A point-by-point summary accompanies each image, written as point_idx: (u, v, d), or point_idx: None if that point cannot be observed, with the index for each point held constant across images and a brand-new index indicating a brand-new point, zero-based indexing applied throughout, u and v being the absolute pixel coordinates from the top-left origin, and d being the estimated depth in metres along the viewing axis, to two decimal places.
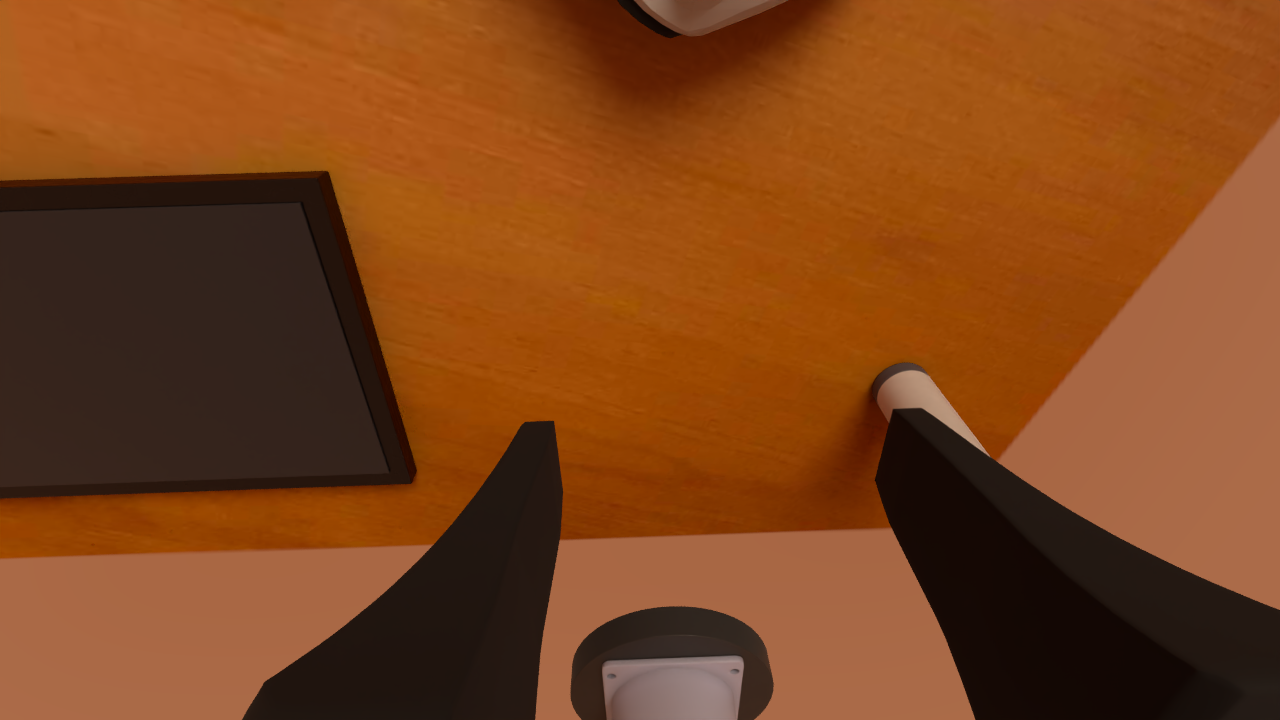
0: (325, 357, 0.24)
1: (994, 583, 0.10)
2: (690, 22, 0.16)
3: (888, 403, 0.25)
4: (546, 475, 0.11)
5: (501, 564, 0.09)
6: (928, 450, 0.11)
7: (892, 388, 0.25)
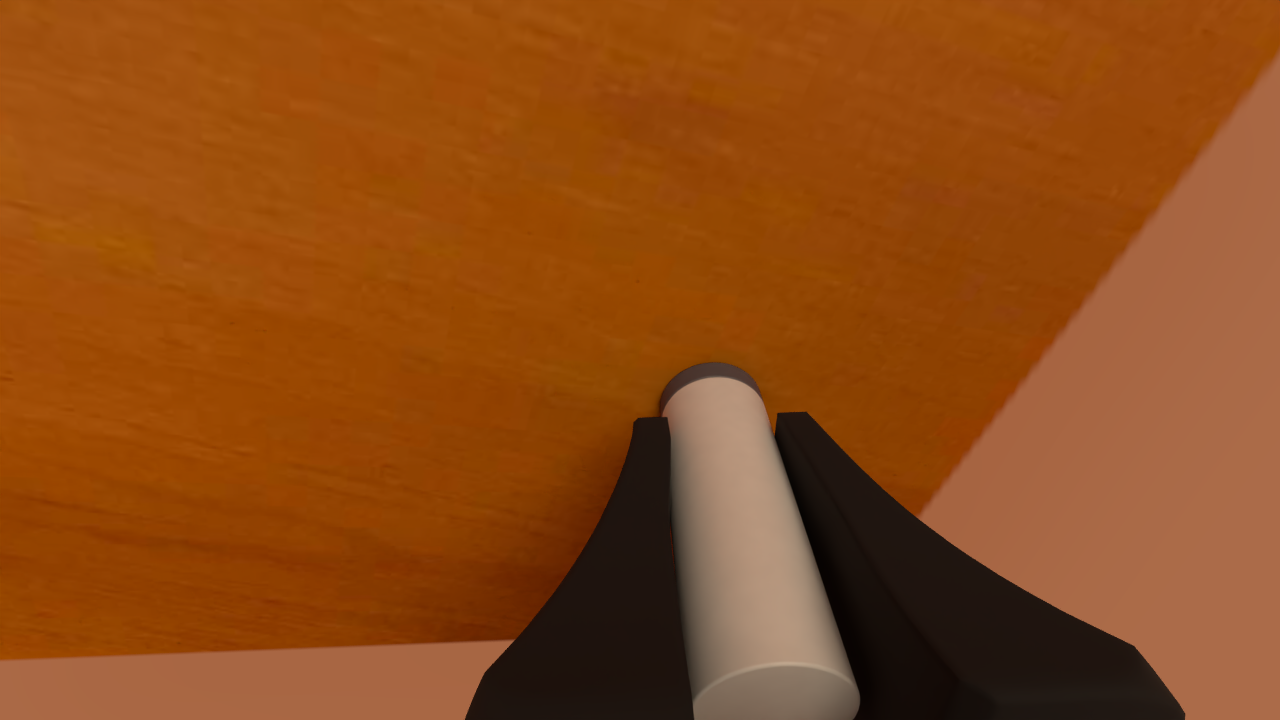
0: None
1: (842, 589, 0.09)
2: None
3: None
4: (670, 471, 0.11)
5: (668, 558, 0.09)
6: (799, 454, 0.11)
7: (674, 413, 0.13)
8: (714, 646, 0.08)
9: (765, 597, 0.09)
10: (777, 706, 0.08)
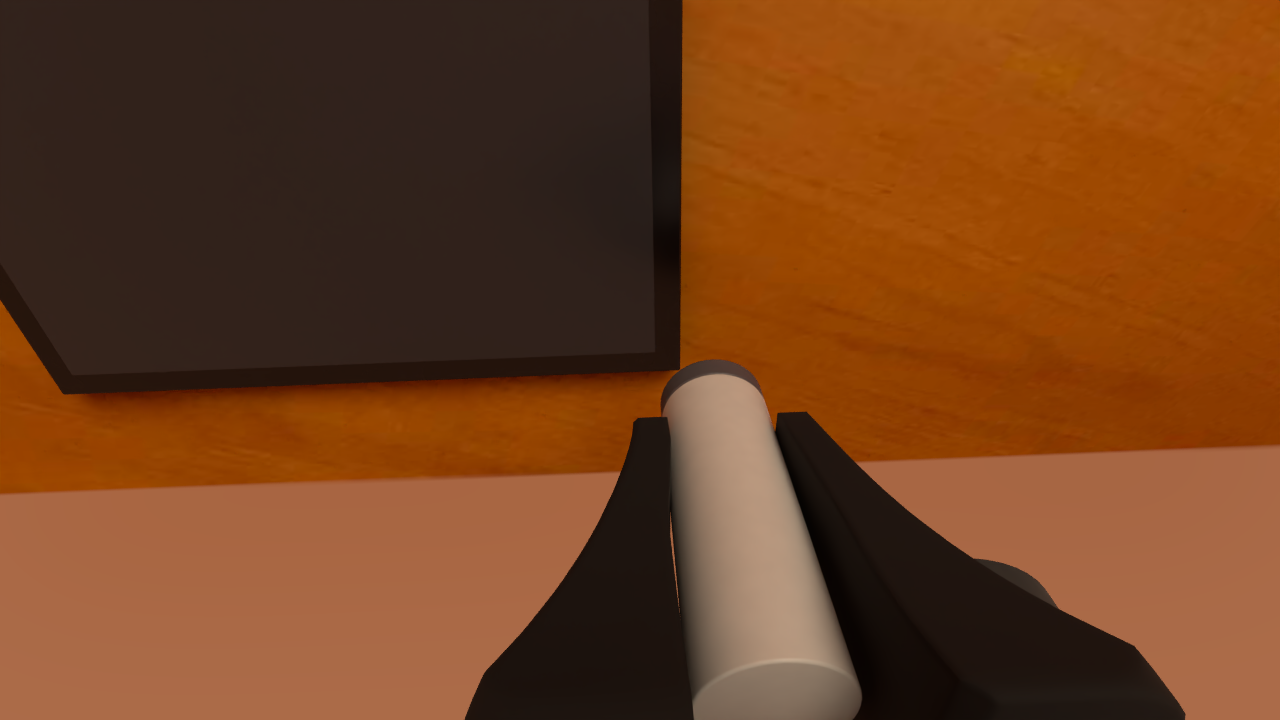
0: (613, 152, 0.16)
1: (842, 589, 0.09)
2: None
3: None
4: None
5: (667, 558, 0.09)
6: (799, 454, 0.11)
7: (675, 409, 0.13)
8: (715, 643, 0.08)
9: (766, 594, 0.09)
10: (779, 703, 0.08)
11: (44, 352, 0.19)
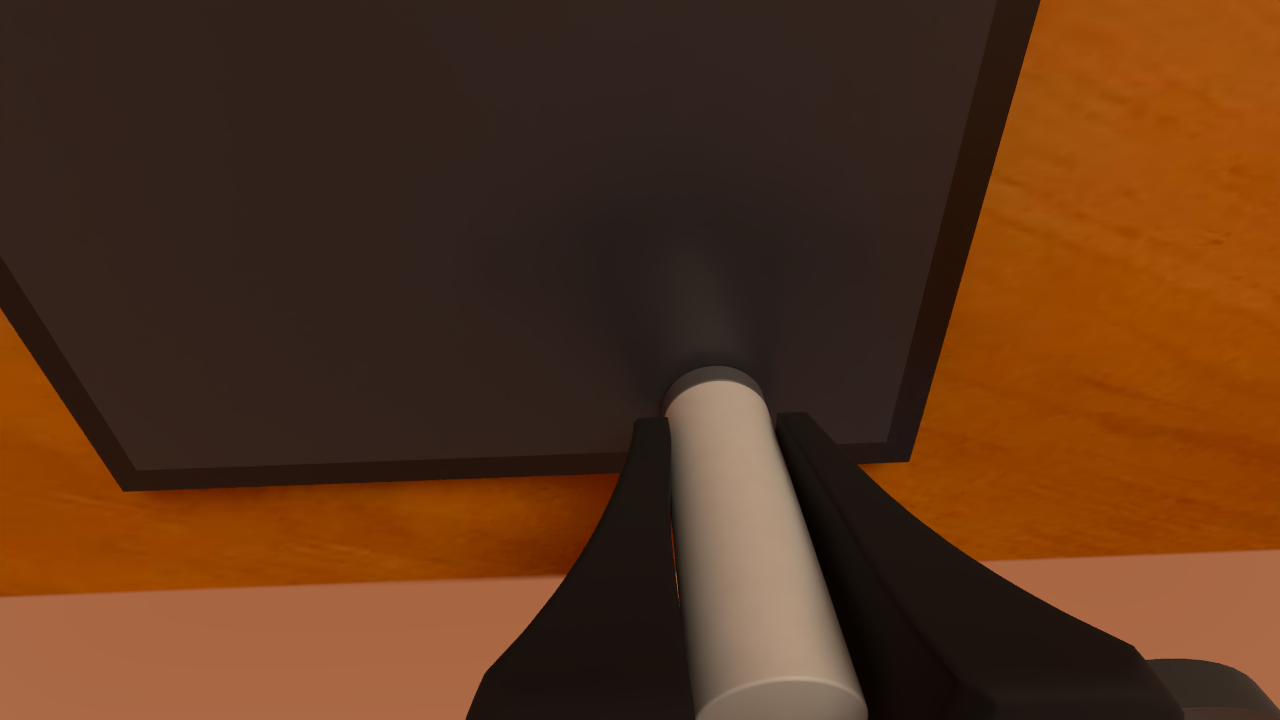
0: (897, 195, 0.12)
1: (842, 589, 0.09)
2: None
3: None
4: None
5: (668, 558, 0.09)
6: (799, 454, 0.11)
7: (676, 417, 0.13)
8: (718, 659, 0.08)
9: (769, 609, 0.08)
10: None
11: (102, 443, 0.14)
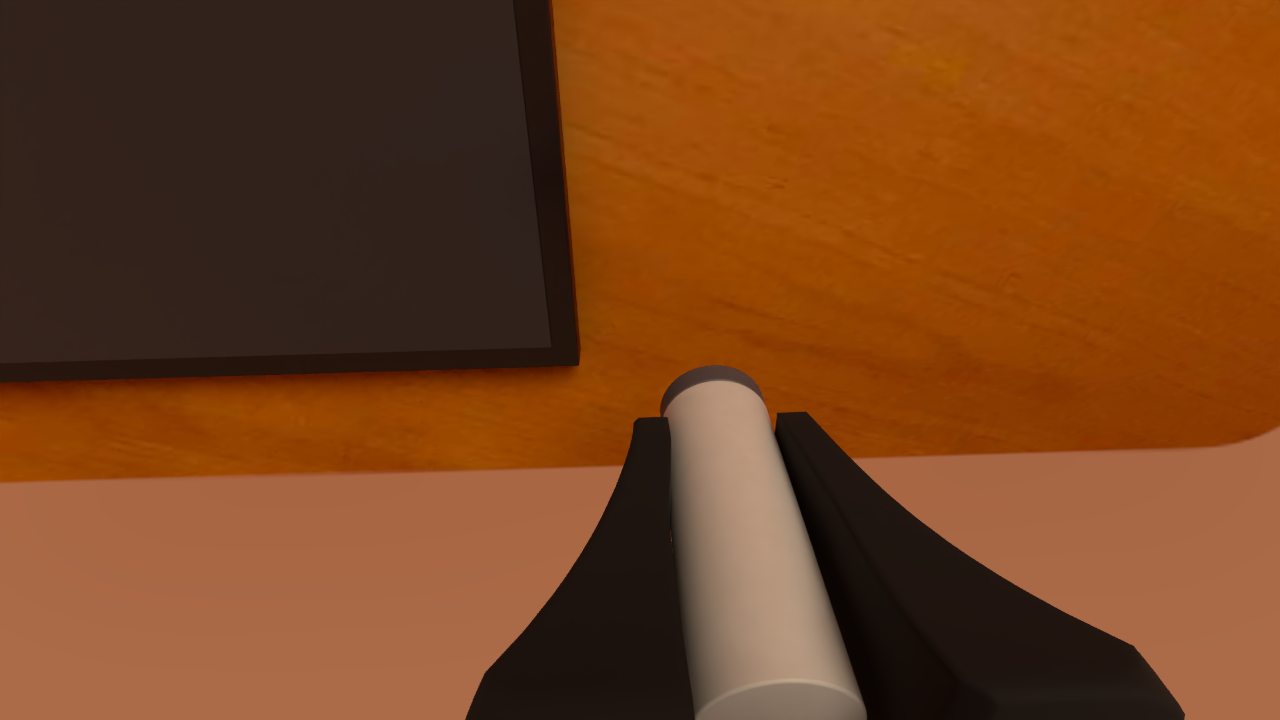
0: (489, 142, 0.16)
1: (842, 589, 0.09)
2: None
3: None
4: (670, 470, 0.11)
5: (668, 558, 0.09)
6: (799, 454, 0.11)
7: (675, 417, 0.13)
8: (715, 661, 0.08)
9: (768, 610, 0.08)
10: None
11: None
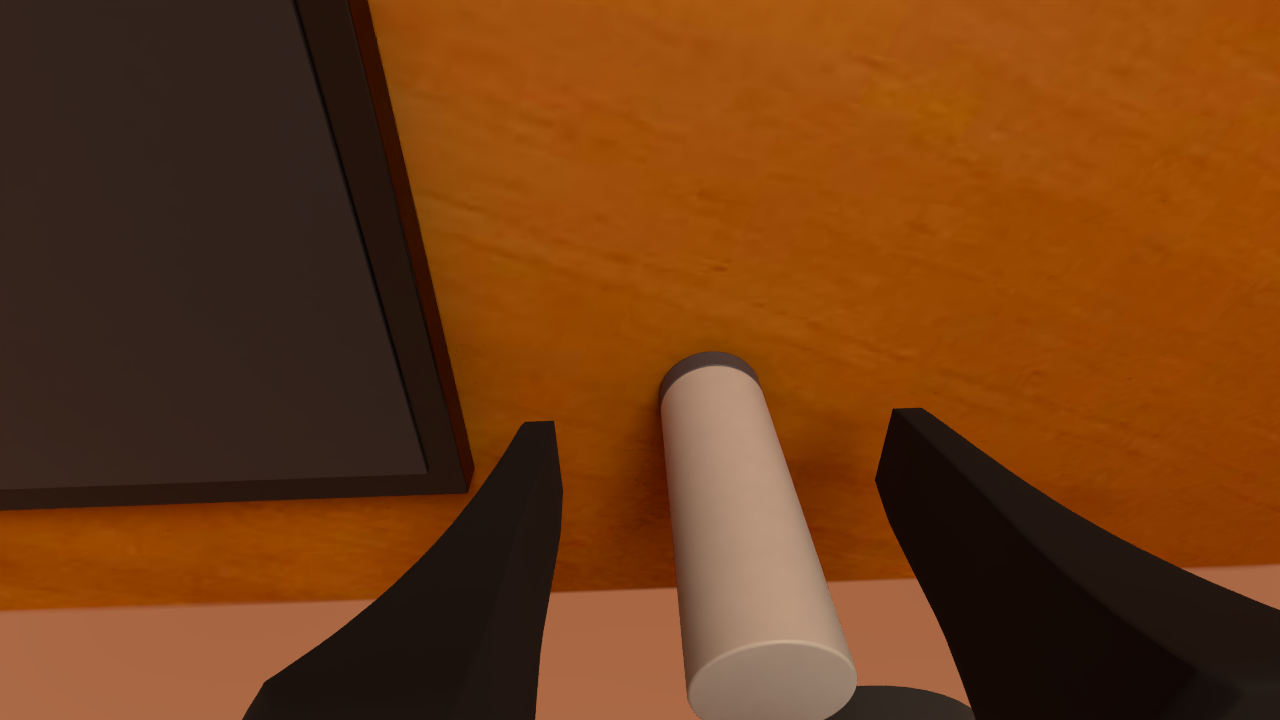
0: (299, 222, 0.11)
1: (994, 583, 0.10)
2: None
3: (665, 428, 0.13)
4: (546, 475, 0.11)
5: (501, 564, 0.09)
6: (928, 450, 0.11)
7: (673, 401, 0.13)
8: (713, 626, 0.08)
9: (763, 578, 0.09)
10: (776, 684, 0.08)
11: None
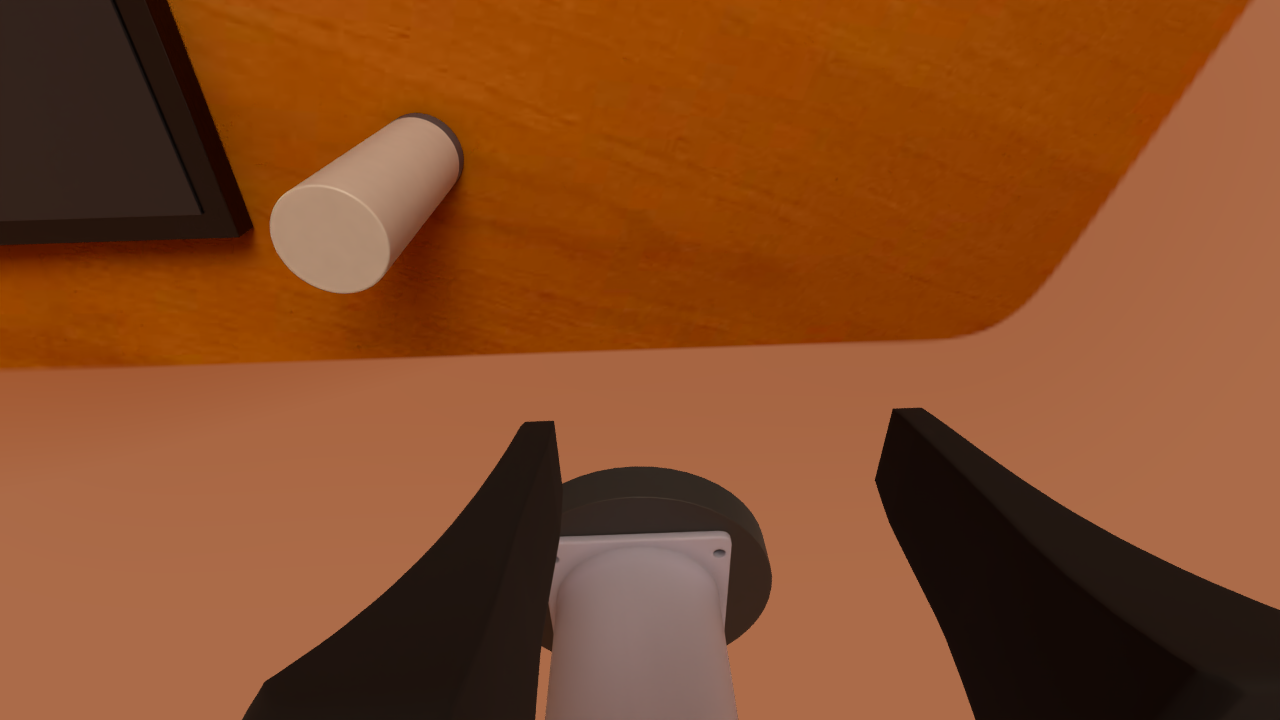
0: None
1: (994, 583, 0.10)
2: None
3: None
4: (546, 475, 0.11)
5: (501, 564, 0.09)
6: (928, 450, 0.11)
7: None
8: None
9: (330, 171, 0.13)
10: (328, 233, 0.12)
11: None
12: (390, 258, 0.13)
